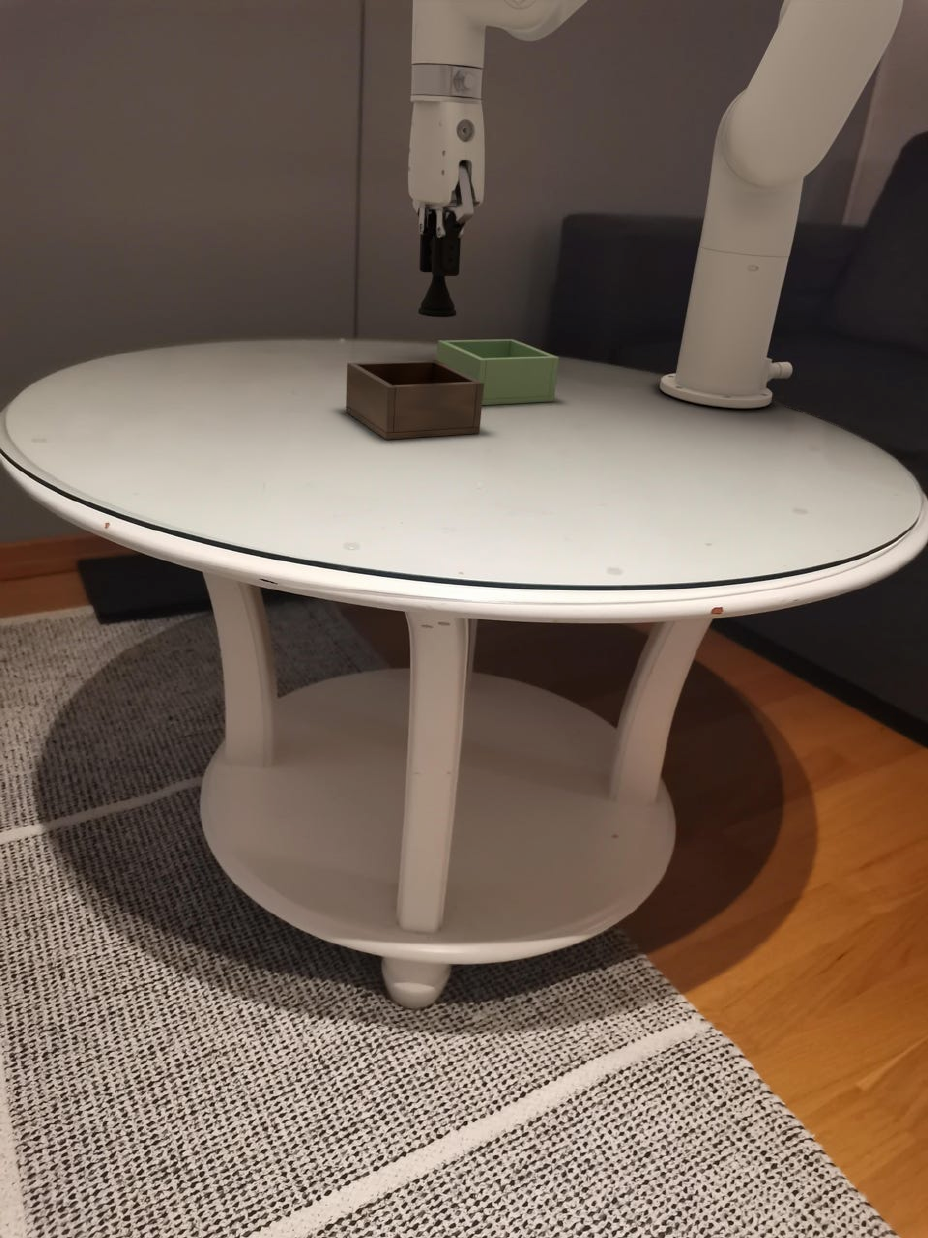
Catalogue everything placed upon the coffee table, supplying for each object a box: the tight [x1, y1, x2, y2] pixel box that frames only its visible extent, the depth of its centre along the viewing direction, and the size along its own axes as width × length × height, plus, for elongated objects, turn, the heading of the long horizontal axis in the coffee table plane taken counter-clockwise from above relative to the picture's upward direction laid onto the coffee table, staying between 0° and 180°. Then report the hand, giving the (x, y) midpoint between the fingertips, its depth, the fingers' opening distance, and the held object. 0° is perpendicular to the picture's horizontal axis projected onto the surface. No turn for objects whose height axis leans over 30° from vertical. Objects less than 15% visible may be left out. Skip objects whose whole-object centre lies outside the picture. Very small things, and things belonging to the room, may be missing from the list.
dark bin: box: [345, 359, 484, 441], centre depth 87 cm, size 9×9×5 cm
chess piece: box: [417, 236, 457, 318], centre depth 107 cm, size 4×4×10 cm
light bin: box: [436, 338, 560, 406], centre depth 100 cm, size 9×9×5 cm
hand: (439, 272), depth 107 cm, fingers closed on chess piece, 2 cm apart
